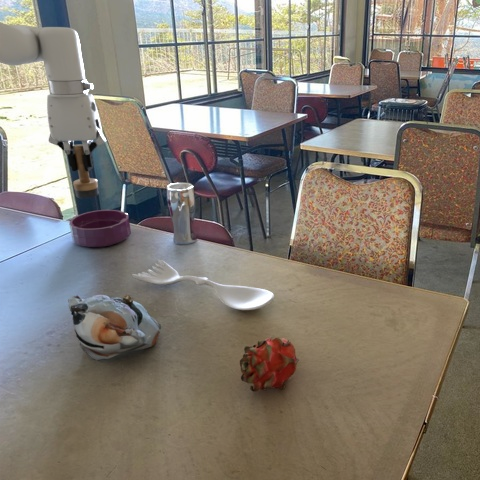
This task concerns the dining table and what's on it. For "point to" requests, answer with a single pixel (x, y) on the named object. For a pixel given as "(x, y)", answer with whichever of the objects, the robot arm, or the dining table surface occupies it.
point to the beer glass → (182, 212)
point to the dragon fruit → (268, 364)
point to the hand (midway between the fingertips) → (82, 169)
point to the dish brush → (84, 177)
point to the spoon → (228, 294)
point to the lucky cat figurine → (112, 325)
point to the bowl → (100, 228)
